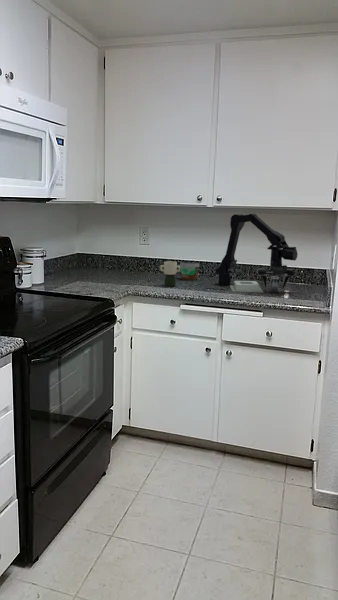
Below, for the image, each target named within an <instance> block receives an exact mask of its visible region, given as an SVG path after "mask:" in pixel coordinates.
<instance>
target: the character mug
mask: <svg viewBox="0 0 338 600" xmlns="http://www.w3.org/2000/svg"><path fill="white" fill-rule="evenodd" d="M159 269H160V272H163V273H164V275H165V277H164V282H163V284H164V286H167V287H168V286H169V287H171V286H172V287H173V286H175V285H177V283H176V276H175V275H176V274H177V272H178V273H179V272H180V273H181V266H180V265H178V262H177V261H173V260H171V261H164V262H163V264H160V267H159Z"/></svg>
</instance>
